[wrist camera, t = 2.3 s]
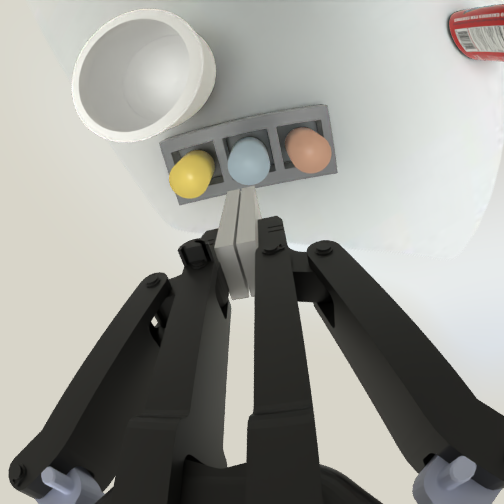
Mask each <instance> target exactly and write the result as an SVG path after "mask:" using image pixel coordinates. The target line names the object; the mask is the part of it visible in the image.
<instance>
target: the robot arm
mask: <svg viewBox="0 0 504 504" xmlns="http://www.w3.org/2000/svg"><path fill="white" fill-rule="evenodd" d="M178 252H179V254H180V257H181V259H182V262H183V264H184V270H183V273H182V274H181V275H179V276H177V277H174V278H171V279H168V277H167V275H166V274H165V273H160V272H159V273H154V274H151V275H149V276H148V277H146V278H145V279H144V280H143V281H142V282H141V283H140V284H139V286H138V287H137V288H136V289H135V291H134V292H133V294H132V295H131V296H130V297H129V299H128V300H127V301H126V303H125V304H124V305H123V307H122V308H121V310H120V311H119V312H118V314H117V315H116V316H115V318H114V319H113V321H112V322H111V323H110V325H109V326H108V328H107V329H106V331H105V332H104V333H103V335H102V336H101V338H100V339H99V340H98V342H97V343H96V345H95V346H94V348H93V349H92V351H91V352H90V354H89V355H88V357H87V358H86V360H85V361H84V363H83V364H82V366H81V367H80V369H79V370H78V372H77V373H76V375H75V376H74V378H73V380H72V381H71V383H70V384H69V386H68V388H67V389H66V391H65V392H64V394H63V396H62V397H61V399H60V400H59V402H58V404H57V405H56V407H55V409H54V410H53V412H52V414H51V416H50V417H49V419H48V421H47V422H46V424H45V426H44V428H43V430H42V431H41V432H40V433H39V434H38V435H37V436H36V437H35V438H34V439H33V440H32V441H31V442H30V443H29V444H28V445H27V446H26V447H25V448H24V449H23V450H22V451H21V452H20V453H19V454H18V455H17V456H16V457H15V458H14V460H13V461H12V463H11V464H10V468H9V480H10V483H11V484H12V486H13V487H14V488H15V489H17V490H18V491H20V492H22V493H24V494H26V495H28V496H30V497H32V498H34V499H36V501H37V502H38V504H383V503H381V502H380V501H378V500H377V499H376V498H374V497H373V496H372V495H370V494H369V493H367V492H366V491H365V490H364V489H362V488H361V487H359V486H358V485H357V484H356V483H355V482H353V481H352V480H351V479H349V478H348V477H347V476H345V475H344V474H342V473H340V472H339V471H337V470H334V469H332V468H330V467H327V466H324V465H320V464H319V455H318V446H317V437H316V428H315V420H314V412H313V404H312V396H311V388H310V382H309V374H308V367H307V360H306V353H305V346H304V339H303V334H302V327H301V321H300V314H299V308H298V302H297V301H299V302H313V303H314V307H315V308H316V310H317V312H318V313H319V315H320V316H321V318H322V320H323V321H324V323H325V324H326V326H327V328H328V329H329V331H330V333H331V334H332V336H333V338H334V339H335V341H336V343H337V344H338V346H339V347H340V349H341V351H342V352H343V354H344V356H345V357H346V359H347V361H348V362H349V364H350V365H351V367H352V369H353V371H354V372H355V374H356V376H357V377H358V379H359V381H360V382H361V384H362V386H363V387H364V389H365V391H366V392H367V394H368V396H369V398H370V399H371V401H372V403H373V404H374V406H375V408H376V409H377V411H378V413H379V415H380V416H381V418H382V420H383V422H384V423H385V425H386V427H387V429H388V430H389V432H390V434H391V435H392V437H393V439H394V441H395V443H396V444H397V446H398V448H399V449H400V451H401V453H402V454H403V455H404V457H405V459H406V460H407V461H408V463H409V464H410V465H411V466H412V467H413V468H414V469H415V470H416V471H417V473H419V475H418V476H417V477H416V479H415V481H414V484H413V491H412V492H413V496H414V499H415V500H416V501H417V503H418V504H492V502H493V501H494V500H495V498H496V497H497V495H498V493H499V492H500V491H501V490H502V488H504V416H503V415H501V414H500V413H498V412H497V411H495V410H494V409H492V408H490V407H489V406H487V405H485V404H484V403H483V402H481V401H479V400H478V399H476V397H475V396H474V394H473V393H472V392H471V390H470V389H469V388H468V387H467V385H466V384H465V383H464V381H463V380H462V379H461V378H460V376H459V375H458V374H457V372H456V371H455V370H454V369H453V368H452V366H451V365H450V364H449V363H448V362H447V360H446V359H445V358H444V357H443V355H442V354H441V353H440V352H439V351H438V349H437V348H436V347H435V346H434V345H433V344H432V343H431V341H430V340H429V339H428V338H427V337H426V335H425V334H424V333H423V332H422V331H421V330H420V329H419V327H418V326H417V325H416V324H415V323H414V322H413V321H412V320H411V318H410V317H409V316H408V315H407V314H406V313H405V312H404V311H403V310H402V308H400V306H399V305H398V304H397V303H396V302H395V301H394V300H393V299H392V298H391V297H390V296H389V295H388V293H386V292H385V290H384V289H383V288H382V287H381V286H380V285H379V284H378V283H377V282H376V281H375V280H374V279H373V278H372V277H371V276H370V275H369V274H368V273H367V272H366V271H365V270H364V268H363V267H361V265H360V264H359V263H358V262H357V261H356V260H355V259H354V258H353V257H352V256H351V255H350V254H349V253H348V252H347V251H346V250H345V249H344V248H342V247H341V246H340V245H339V244H338V243H336V242H333V241H329V240H326V241H325V240H323V241H319V242H316V243H313V244H311V245H310V246H309V247H308V249H307V252H298V251H294V250H292V249H290V248H289V247H288V245H287V241H286V236H285V231H284V227H283V222H282V219H281V218H279V217H278V216H274V217H269V218H263V219H262V216H261V212H260V208H259V203H258V199H257V195H256V190H255V186H250V187H246V188H242V191H241V192H240V189H236V190H232V191H227V195H226V199H225V203H224V208H223V212H222V216H221V220H220V225H219V228H218V229H214V230H209V231H206V232H205V233H204V235H203V236H202V237H201V238H199V239H193V240H190V241H188V242H186V243H184V244H183V245H182V246H180V248H179V249H178ZM249 290H250V293H251V296H252V297H254V296H255V323H254V325H255V327H254V329H255V330H254V334H255V335H254V410H253V414H252V415H250V416H249V420H248V427H247V463H244V464H239V465H235V466H232V467H227V462H226V458H225V455H224V452H223V434H224V415H225V397H226V379H227V364H228V348H229V333H230V318H231V304H230V302H229V299H228V296H229V293H230V296H231V298H232V300H236V299H242V298H248V297H249ZM154 316H155V318H156V320H157V322H158V323H157V325H156V326H155V327H154V326H153V324H152V323H151V320H152V319H153V317H154ZM115 476H116V477H115ZM114 477H115V482H114V487H113V488H111V489H110V490H109V491H108V492H107V493H106V494H104V493H103V491H104V490H105V489H106V488H107V487H108V486H109V484H110V483H111V481H112V480H113V479H114Z"/></svg>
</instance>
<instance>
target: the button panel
mask: <svg viewBox="0 0 504 504" xmlns="http://www.w3.org/2000/svg"><path fill="white" fill-rule="evenodd" d="M315 120H316V124H317V129H318V134H319V135H321V136H322V137H324V138H325V139H326V140H327V141H328V143H329V145H330V147H331V159H330V162H329V164H328V165H327V166H326V167H325V168H324V169H323V170H321V171H319V172H317V173H305V172H302V171H300V170H299V169H297V168H296V167H295V166H294V164H293V163H292V161H291V162H286V163H283V158H282V153H281V148H280V143H279V138H278V133H277V129H276V127H278V126H284V125H289V124H295V123H302V122H308V121H315ZM263 129H267V133H268V138H269V142H270V147H271V152H272V156H273V161H274V165H270V169H269V172H268V175H267V176H266V177H265V179H264V180H262V181H261V182H259V183H257V184H254V185H244V184H241V183H238V182H237V181H235V180H234V179H233V178H232V177H231V175H230V173H229V171H228V159H229V156H230V154H229V151H228V147H227V143H226V139H225V138H226V137H231V136H235V135H239V134H244V133H248V132H253V131H258V130H263ZM210 141H213V143H214V147H215V150H216V154H217V158H218V161H219V165H220V169H221V172H222V176H219V177H215V178H211V180H210V183H209V185H208V187H207V189H206V191H205V192H204V193H203V194H202V195H200V196H199V197H196V198H192V199H188V198H183V197H181V196H179V195H177V194H176V193H175V194H176V196H177V199H178V202H179V205H183V204H187V203H191V202H196V201H200V200H204V199H208V198H212V197H217V196H221V195H226V194H227V191H232V190H236V189H240V191H242V188H246V187H250V186H255V188H258V187H263V186H268V185H273V184H278V183H283V182H289V181H294V180H300V179H305V178H311V177H317V176H323V175H329V174H335V173H337V164H336V157H335V150H334V143H333V136H332V130H331V123H330V117H329V112H328V106H327V105H322V104H320V105H313V106H305V107H299V108H292V109H286V110H281V111H275V112H270V113H264V114H259V115H255V116H250V117H245V118H241V119H236V120H232V121H228V122H224V123H220V124H216V125H212V126H208V127H204V128H201V129H197V130H194V131H190V132H187V133H183V134H180V135H177V136H174V137H170V138H167V139H165V140H164V141H162V142H160V143H159V144H160V148H161V151H162V154H163V157H164V160H165V163H166V166H167V170H168V173H169V175H170V172H171V170H172V168H173V167H174V166H175V165H176V164H177V163H178V162H179V161H180V160H181V158H180V155H179V152H178V150H181V149H185V148H188V147H192V146H195V145H199V144H203V143H207V142H210Z"/></svg>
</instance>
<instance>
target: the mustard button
mask: <svg viewBox="0 0 504 504" xmlns="http://www.w3.org/2000/svg"><path fill="white" fill-rule="evenodd" d="M214 171H215V162H214V160H213V158H212V156H211V155H210V154H209V153H207V152H205V151H203V150H193V151H190V152H188V153H187V154H186V155H185V156H184V157H183V158H182V159H181V160H180V161H179V162H178V163H177V164H176V165H175V166H174V167H173V168H172V170H171V172H170V175H169V182H170V186H171V188H172V190H173V191H174V192H175V193H176V194H177V195H179V196H181V197H183V198H188V199H192V198H196V197H199V196H200V195H202V194H203V193H204V192H205V191H206V189H207V187H208V185H209V183H210V180H211V178H212V176H213V174H214Z"/></svg>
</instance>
